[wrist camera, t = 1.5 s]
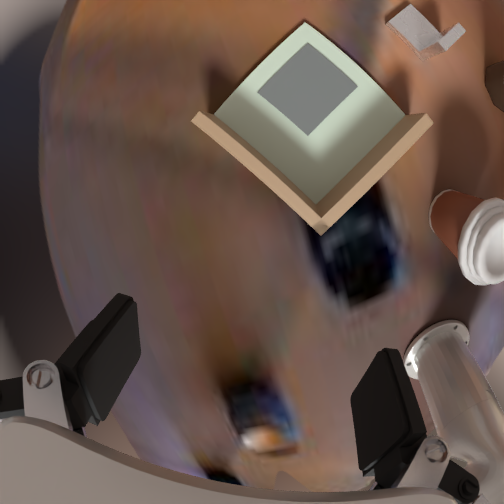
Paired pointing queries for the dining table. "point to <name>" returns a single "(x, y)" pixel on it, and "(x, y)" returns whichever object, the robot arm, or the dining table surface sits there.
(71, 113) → the dining table surface
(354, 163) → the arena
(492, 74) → the beer bottle
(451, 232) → the coffee cup
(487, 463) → the robot arm
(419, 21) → the bracket
